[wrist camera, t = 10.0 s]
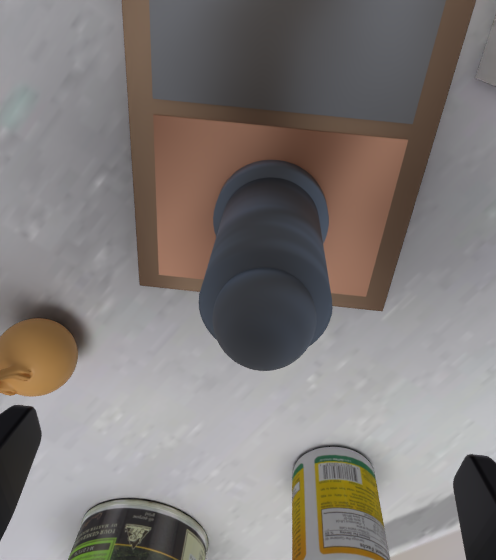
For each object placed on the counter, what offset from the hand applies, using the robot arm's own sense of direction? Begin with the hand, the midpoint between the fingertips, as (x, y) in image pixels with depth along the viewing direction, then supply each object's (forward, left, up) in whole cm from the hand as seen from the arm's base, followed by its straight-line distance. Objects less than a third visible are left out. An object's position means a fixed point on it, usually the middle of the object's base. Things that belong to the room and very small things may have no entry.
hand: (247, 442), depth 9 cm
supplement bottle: (-6, +18, -13) cm, 23 cm away
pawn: (0, 0, -12) cm, 12 cm away
